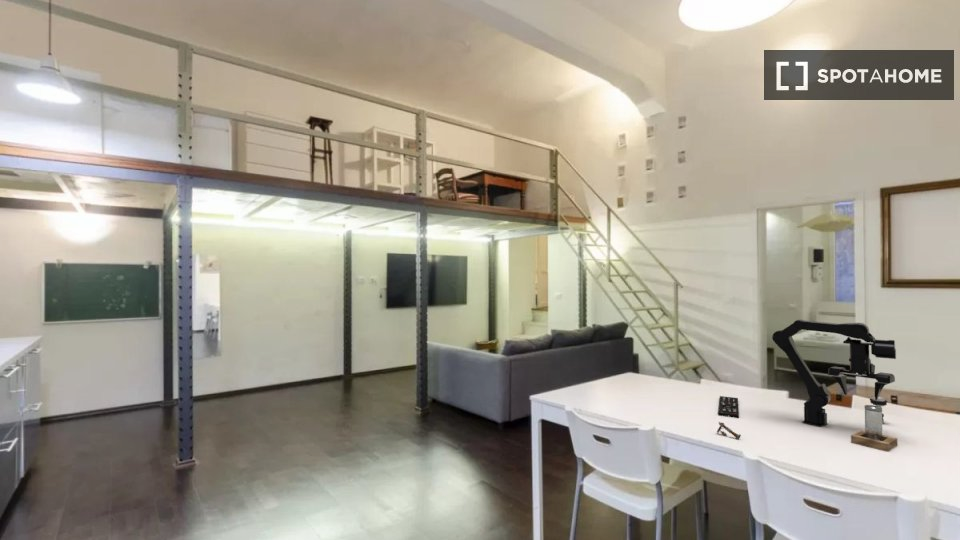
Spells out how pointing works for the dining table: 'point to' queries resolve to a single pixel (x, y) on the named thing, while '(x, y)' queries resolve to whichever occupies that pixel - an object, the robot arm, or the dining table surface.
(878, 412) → the metal canister
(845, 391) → the robot arm
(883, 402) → the push button
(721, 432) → the wooden post with brackets
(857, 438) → the frame
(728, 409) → the remote control
